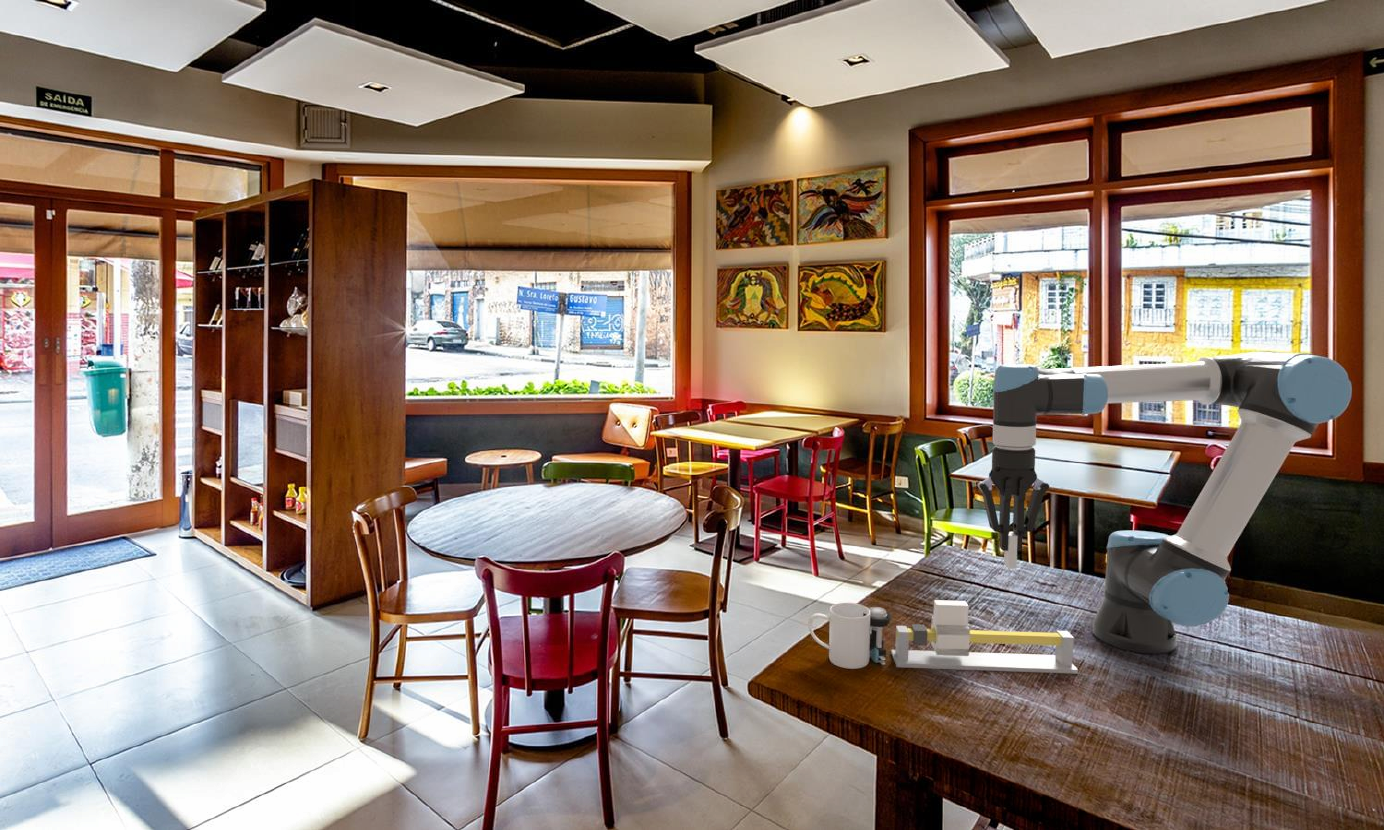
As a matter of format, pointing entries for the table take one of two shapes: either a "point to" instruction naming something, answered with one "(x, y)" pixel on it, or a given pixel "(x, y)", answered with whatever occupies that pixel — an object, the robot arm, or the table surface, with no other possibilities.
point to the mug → (847, 635)
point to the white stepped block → (951, 628)
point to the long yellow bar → (987, 636)
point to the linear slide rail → (986, 658)
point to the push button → (877, 633)
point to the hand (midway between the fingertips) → (1010, 566)
